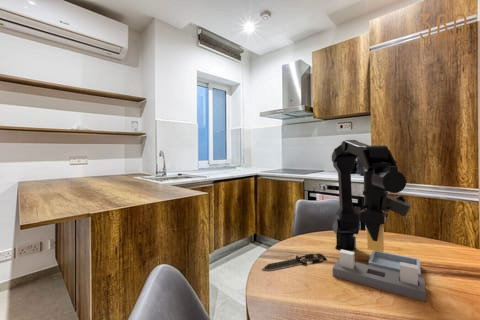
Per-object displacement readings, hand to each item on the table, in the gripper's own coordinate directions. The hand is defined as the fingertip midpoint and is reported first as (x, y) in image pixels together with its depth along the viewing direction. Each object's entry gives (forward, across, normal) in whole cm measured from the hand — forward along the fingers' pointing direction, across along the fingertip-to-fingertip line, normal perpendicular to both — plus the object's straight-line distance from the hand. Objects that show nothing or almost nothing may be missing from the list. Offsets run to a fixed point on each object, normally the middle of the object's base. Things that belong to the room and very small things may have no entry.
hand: (375, 239), depth 69 cm
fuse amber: (+3, 0, 0) cm, 3 cm away
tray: (+13, +12, -4) cm, 18 cm away
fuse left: (+13, 0, +8) cm, 15 cm away
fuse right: (+13, 0, -8) cm, 15 cm away
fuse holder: (+13, 0, 0) cm, 13 cm away
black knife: (+13, -3, +25) cm, 29 cm away
